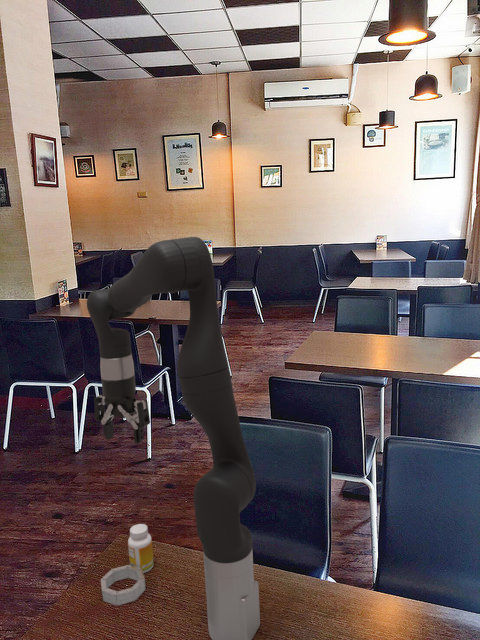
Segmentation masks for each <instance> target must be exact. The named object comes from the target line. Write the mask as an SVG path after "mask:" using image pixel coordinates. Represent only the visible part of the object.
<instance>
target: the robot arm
mask: <svg viewBox="0 0 480 640" xmlns="http://www.w3.org/2000/svg"><path fill="white" fill-rule="evenodd" d="M183 291H187V293H188V299H189V301H188V302H189V320H188V325H187V328H186V331H185V336H184V338H183V341H182V343H181V347H180V350H179V353H178V358H177V363H176V364H177V365H176V366H177V368H176V369H177V375H178V381H179V385H180V390H181V394H182V398H183V401H184V403H185V406H186V408H187V409H188V411H189V413H190V414H191V415H192V416H193V418H194V419H195V420H196V422H198V424H199V426H200V427H201V428H202V430H204V432H205V434H206V436H207V440H208V441H209V446H210V450H211V451H210V452H211V456H212V465H213V467H211V469H209V471H207V472H206V473H204V474H203V476H201V477H200V478H199V479H198V481H197V482H196V483H195V486H194V489H193V506H194V514H195V523H196V531H197V536H198V538H199V540H200V543H201V545H202V552H203V555H202V556H203V566H204V567H203V569H204V581H205V582H204V583H205V596H206V597H205V599H206V612H207V625H208V635H209V637H210V638H211V640H253V638H254V636H255V635H256V633H257V631H258V630H259V628H260V626H261V612H260V611H261V610H260V594H259V593H260V591H259V590H260V589H259V581H258V580H255V578H254V575H255V574H254V557H253V556H254V555H253V537H252V536H253V535H252V533H251V531H250V529H249V528H248V527H247V526H246V525H244V524H242V523H241V518H240V515H241V514H240V513H241V512H242V511H243V510H244V509H245V508H246V507H247V506H248V505H249V504H250V502H251V501H252V500H253V498H254V497H255V493H256V490H257V485H256V483H257V482H256V477H255V472H254V469H253V466H252V462H251V459H250V456H249V453H248V450H247V446H246V443H245V440H244V436H243V433H242V429H241V428H242V427H241V423H240V417H239V414H238V408H237V404H236V400H235V394H234V389H233V382H232V381H233V380H232V376H231V372H230V367H229V363H228V358H227V353H226V350H225V349H226V348H225V344H224V340H223V339H224V338H223V334H222V329H221V323H220V316H219V309H218V299H217V289H216V280H215V271H214V265H213V260H212V256H211V252H210V250H209V248H208V246H207V244H206V243H205V241H204V240H203V239H201V238H200V237H197V236H188V237H180V238H174V239H173V238H172V239H165V240H160V241H157V242H154V243H153V244H151V245H150V246H149V247H148V248H147V249H146V250H145V251H144V252H143V254H142V255H141V256H140V258H139V259H138V261H137V262H136V264H134V266H133V267H132V269H131V270H130V271H129V272H128V273H126V274H125V275H124V276H123V277H121V278H119V279H118V280H117V281H115V282H114V283H113V284H112V285H111V286H110V288H104V289H96V290H92V291H91V292H90V293H89V294H88V296H87V300H86V309H87V311H88V315H89V317H90V318H91V322H92V325H94V329H95V333H96V336H97V339H98V345H99V346H98V347H99V356H100V365H99V367H100V377H101V378H100V379H101V388H102V394H100V395H97V396H95V397H94V399H93V403H94V405H93V406H94V419H95V421H96V422H100V423H101V425H102V427H103V435H104V437H105V440H111V439H112V438H113V437H114V436H115V432H114V422H113V420H114V419H113V418H119V417H120V418H122V419H123V418H124V419H125V420H126V421H127V422H128V423H130V424H131V426H132V427H133V429H132V430H133V440H134V444H135V445H140V444H141V443H142V442H143V440H144V439H145V436H144V428H145V427H146V426H148V425H150V424H151V418H150V413H149V412H150V409H149V404H148V403H149V402H148V400H147V398H146V399H143V400H137V399H136V391H137V388H136V387H137V386H136V376H135V365H134V358H133V353H132V344H131V335H130V332H129V330H127V329H126V328H125V329H124V328H117V327H115V328H114V327H112V326H111V325H110V324H109V321H110V320H111V321H112V320H117V319H118V320H119V319H124V318H128V317H131V316H133V315H134V314H135V312H136V310H137V309H138V308H141V307H142V306H144V305H145V304H147V303H148V302H149V301H150V300H151V298H152V297H153V295H156V294H157V295H159V294H174V293H179V292H183ZM106 407H107V408H106Z"/></svg>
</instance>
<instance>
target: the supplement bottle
mask: <svg viewBox="0 0 480 640" xmlns="http://www.w3.org/2000/svg"><path fill="white" fill-rule="evenodd" d="M127 548H128V556H129V557H128V558H129V559H128V560H129V565H131V566H135V567H138V568H141V569H142V570H143V574H145V573H147V572H149V571H151V570H152V568H153V567H154V564H155V563H154V551H153V541H152V535H151V534H150V533H149V529H148V525H146V524H145V523H138V524H135V525H134V524H133V526H131V527H130V529H129V538H128V540H127Z"/></svg>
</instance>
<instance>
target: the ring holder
mask: <svg viewBox="0 0 480 640" xmlns="http://www.w3.org/2000/svg"><path fill="white" fill-rule="evenodd" d="M125 579H131V580H134V581H136V582H135V584H133V586H132V587H129V588H125V589H121V590H118V591H117V590H114V589H111V586H112V585H113V584H114V583H115V582H117V581H122V580H125ZM100 587H101V597H102V601H103V602H105V603H108V604H111V605H113V606H116V607H117V606H122V605H125V604H129V603H132V602H135V601H137V599H139V597H140V596H141V595H142V594H143V593H144V591H146V579H145V573H143V570H142V569H141V568H138V567H135V566H131V565H130V564H127V565H122V566H118V567H115V568H112V569H110V570H109V571H108V572H107V573H106V574H104V575H103V577H101V579H100Z"/></svg>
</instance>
